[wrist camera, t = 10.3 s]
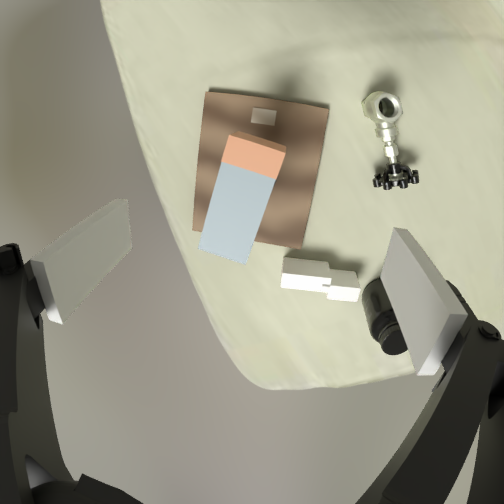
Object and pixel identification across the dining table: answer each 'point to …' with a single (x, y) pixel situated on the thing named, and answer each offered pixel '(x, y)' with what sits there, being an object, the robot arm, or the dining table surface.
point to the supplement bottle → (382, 319)
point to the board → (292, 169)
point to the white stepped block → (319, 279)
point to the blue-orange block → (240, 195)
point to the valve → (388, 139)
